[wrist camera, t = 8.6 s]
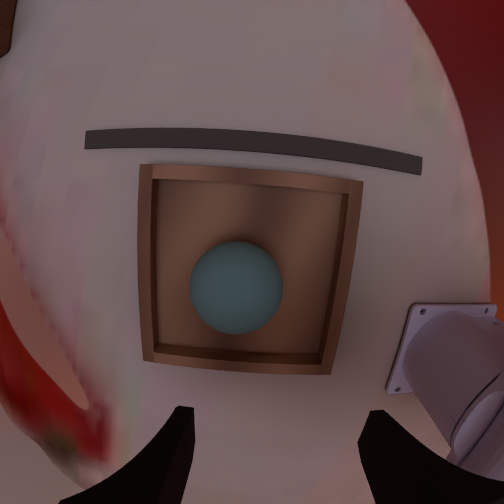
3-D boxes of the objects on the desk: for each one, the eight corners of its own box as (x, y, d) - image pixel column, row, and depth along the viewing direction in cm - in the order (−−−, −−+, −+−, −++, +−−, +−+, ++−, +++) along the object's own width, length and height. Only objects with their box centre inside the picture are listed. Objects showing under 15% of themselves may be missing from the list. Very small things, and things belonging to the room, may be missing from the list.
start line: (420, 157, 18) (422, 157, 18) (419, 175, 18) (421, 175, 18) (88, 131, 18) (85, 131, 17) (86, 149, 18) (84, 148, 18)
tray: (353, 180, 18) (363, 181, 17) (325, 360, 21) (330, 374, 20) (149, 164, 18) (140, 164, 16) (150, 347, 21) (143, 360, 19)
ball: (289, 238, 18) (286, 259, 14) (280, 316, 20) (274, 358, 15) (205, 229, 19) (176, 246, 14) (203, 306, 20) (176, 342, 15)
